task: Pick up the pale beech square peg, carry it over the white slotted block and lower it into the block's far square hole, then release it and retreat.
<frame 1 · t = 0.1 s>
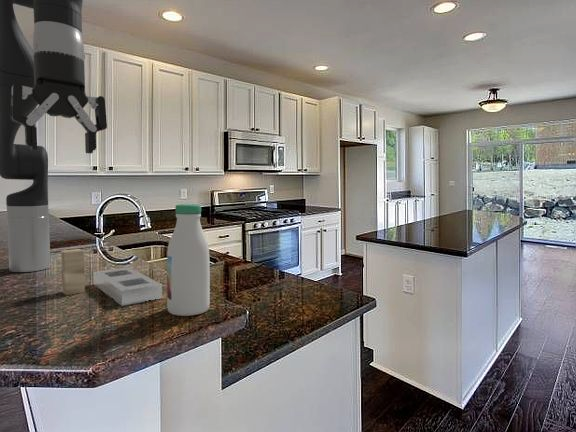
hand: (62, 151, 66), 29 cm above the countertop, tool pointing down, fingers open, 8 cm apart
milk bottle: (188, 311, 71), on the countertop
white slotted block: (125, 290, 83), on the countertop
beech peg: (73, 292, 81), on the countertop
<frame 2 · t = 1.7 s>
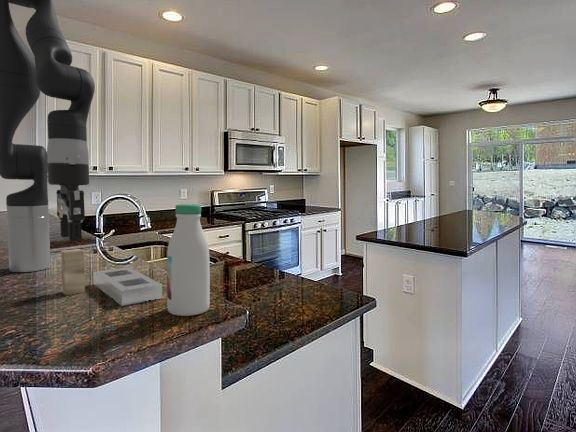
hand: (71, 239, 80), 12 cm above the countertop, tool pointing down, fingers open, 8 cm apart
nothing on the countertop moved.
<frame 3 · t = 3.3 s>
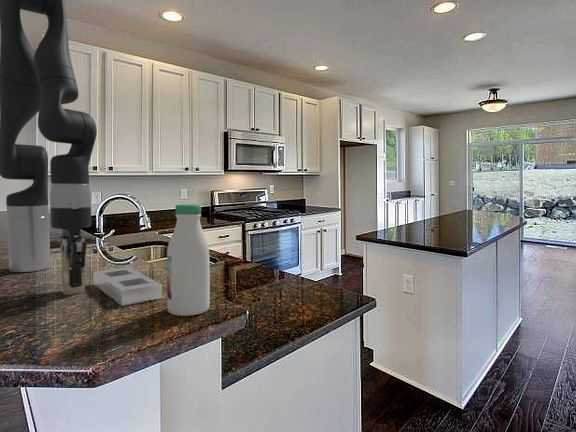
hand: (73, 284, 81), 2 cm above the countertop, tool pointing down, fingers closed on beech peg, 3 cm apart
beech peg: (73, 292, 81), on the countertop, touching gripper
everything else where it was.
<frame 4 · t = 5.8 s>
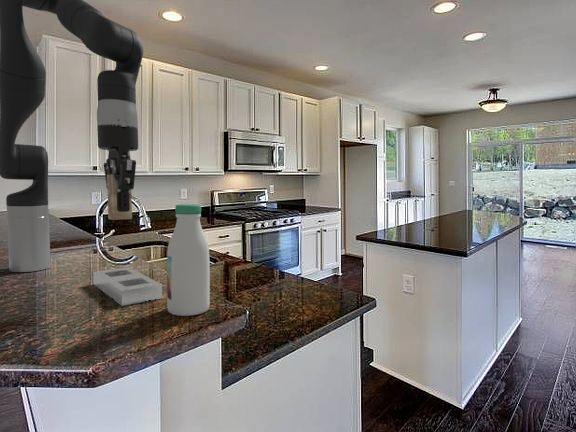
hand: (120, 210, 77), 18 cm above the countertop, tool pointing down, fingers closed on beech peg, 3 cm apart
beech peg: (120, 218, 77), point 16 cm above the countertop, touching gripper
everything else where it was.
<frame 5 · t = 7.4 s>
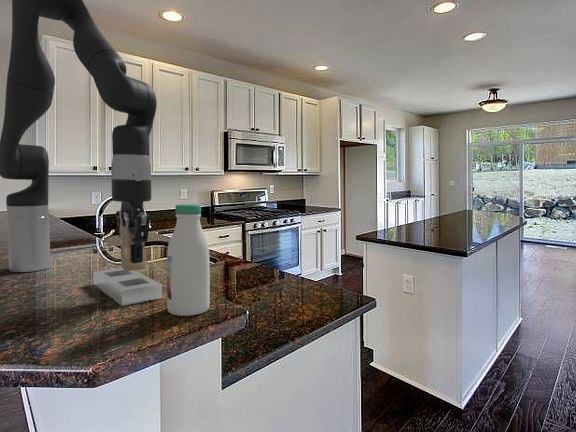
hand: (133, 260, 78), 8 cm above the countertop, tool pointing down, fingers closed on beech peg, 3 cm apart
beech peg: (132, 268, 79), point 6 cm above the countertop, touching gripper
everything else where it was.
when the fingers open (4 cm above the countertop, at t = 8.4 s): beech peg drops 2 cm, resting in white slotted block.
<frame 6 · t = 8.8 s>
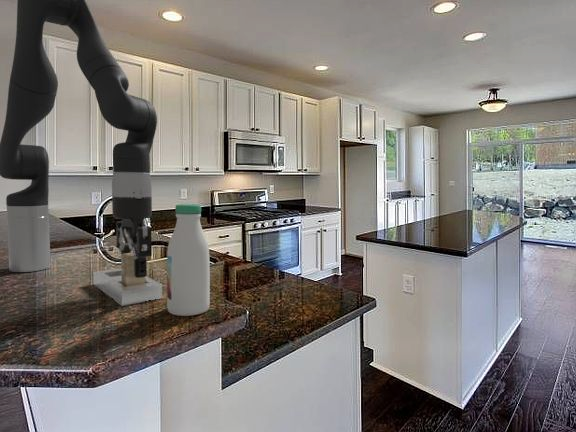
hand: (133, 273, 79), 5 cm above the countertop, tool pointing down, fingers open, 7 cm apart
beech peg: (133, 296, 79), resting in white slotted block
everything else where it was.
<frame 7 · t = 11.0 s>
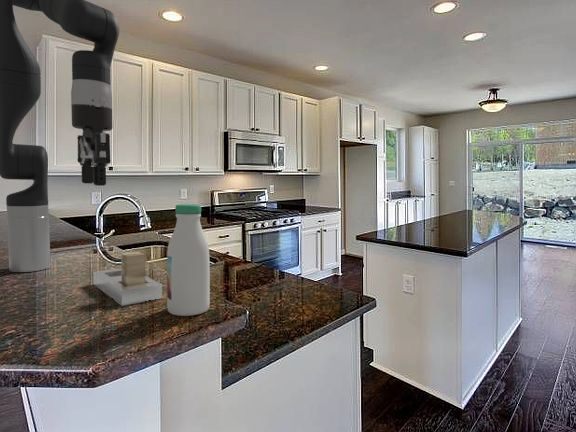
hand: (93, 184, 80), 23 cm above the countertop, tool pointing down, fingers open, 8 cm apart
nothing on the countertop moved.
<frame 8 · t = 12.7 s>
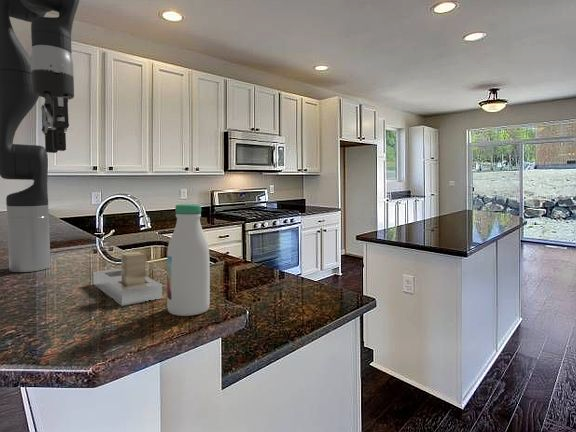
hand: (55, 151, 80), 30 cm above the countertop, tool pointing down, fingers open, 8 cm apart
nothing on the countertop moved.
at the end: beech peg 0.0 cm from the target spot on the white slotted block, point 0.0 cm above the white slotted block's base; beech peg tilted 0°; the gripper is holding nothing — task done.
